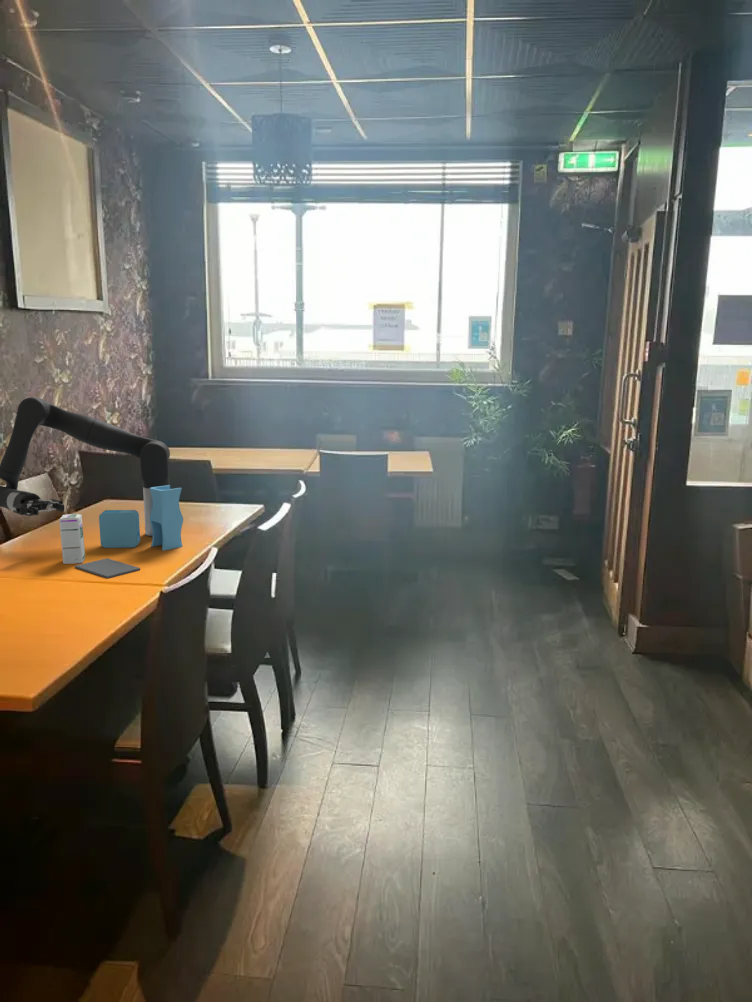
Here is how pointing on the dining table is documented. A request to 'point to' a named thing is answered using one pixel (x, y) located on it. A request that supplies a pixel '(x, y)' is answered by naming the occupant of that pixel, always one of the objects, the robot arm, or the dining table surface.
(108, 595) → the dining table surface
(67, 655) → the dining table surface
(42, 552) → the dining table surface
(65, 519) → the syrup box
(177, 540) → the blue wavy stand
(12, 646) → the dining table surface
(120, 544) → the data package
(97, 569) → the mat
